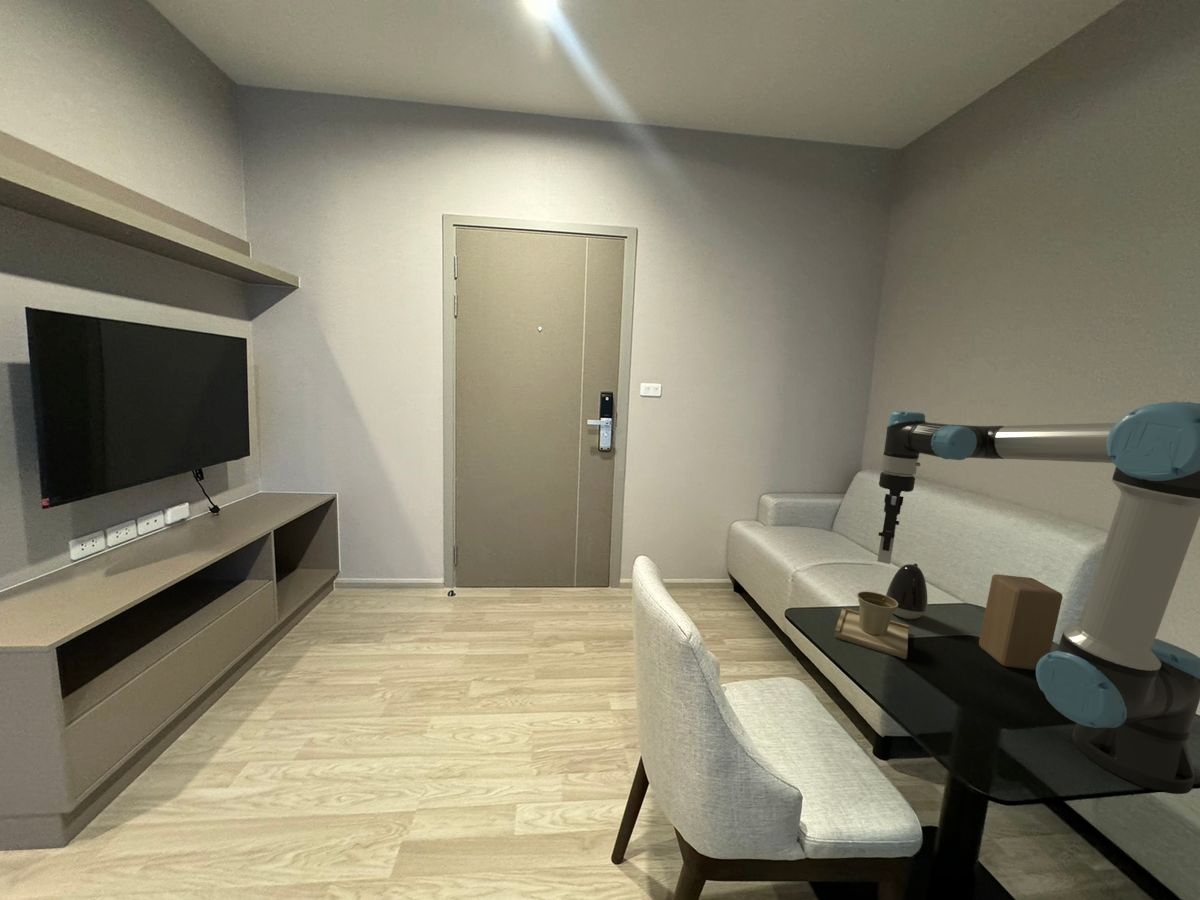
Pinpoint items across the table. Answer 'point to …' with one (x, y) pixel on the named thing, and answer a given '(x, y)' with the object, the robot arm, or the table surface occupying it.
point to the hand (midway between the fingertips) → (885, 555)
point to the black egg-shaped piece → (909, 592)
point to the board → (888, 643)
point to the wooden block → (1019, 621)
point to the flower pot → (875, 612)
